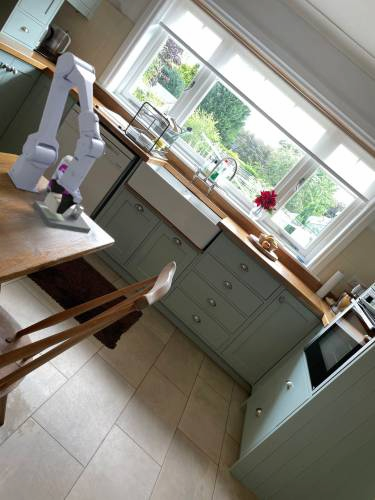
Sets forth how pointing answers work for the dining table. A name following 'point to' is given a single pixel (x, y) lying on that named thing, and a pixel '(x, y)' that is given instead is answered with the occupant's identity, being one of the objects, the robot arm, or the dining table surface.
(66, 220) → the board
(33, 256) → the dining table surface
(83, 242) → the dining table surface
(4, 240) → the dining table surface
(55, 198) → the white cube with stripe
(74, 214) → the post
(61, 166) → the supplement can
